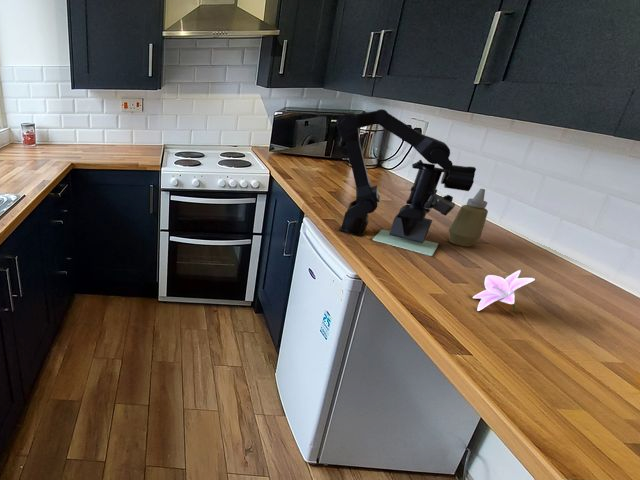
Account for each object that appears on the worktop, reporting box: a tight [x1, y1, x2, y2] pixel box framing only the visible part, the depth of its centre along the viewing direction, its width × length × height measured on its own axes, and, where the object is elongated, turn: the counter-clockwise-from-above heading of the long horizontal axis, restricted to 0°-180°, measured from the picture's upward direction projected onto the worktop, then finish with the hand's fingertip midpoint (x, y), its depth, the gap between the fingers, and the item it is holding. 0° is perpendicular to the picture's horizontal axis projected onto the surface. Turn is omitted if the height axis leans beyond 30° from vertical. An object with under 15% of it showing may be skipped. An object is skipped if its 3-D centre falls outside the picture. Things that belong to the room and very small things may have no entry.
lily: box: [472, 269, 536, 313], centre depth 92 cm, size 12×12×10 cm
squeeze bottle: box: [448, 188, 489, 248], centre depth 124 cm, size 8×8×18 cm
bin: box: [389, 212, 433, 243], centre depth 125 cm, size 9×6×6 cm
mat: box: [372, 228, 439, 257], centre depth 127 cm, size 16×12×1 cm
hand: (408, 232), depth 126 cm, fingers closed on bin, 6 cm apart
